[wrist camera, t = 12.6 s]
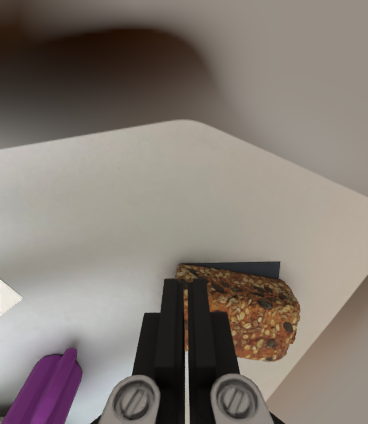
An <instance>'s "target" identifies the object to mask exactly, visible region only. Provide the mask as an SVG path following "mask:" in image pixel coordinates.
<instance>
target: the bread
mask: <svg viewBox="0 0 368 424" xmlns="http://www.w3.org/2000/svg"><path fill="white" fill-rule="evenodd" d="M193 278H206V283H207V292H208V300H209V308H210V312H225V311H227V314H228V318H229V323H230V328H231V332H232V337H233V342H234V347H235V352H236V357H240V358H246V359H252V360H262V361H267V362H270V361H278V360H280V359H281V358H283V357H284V356H285V355H286V354H287V352H286V351H287V349H288V347H289V344H293V342H294V340H295V336H296V330H297V329H296V327H297V323H298V321H299V320H300V316H299V313H300V305H299V303H298V301H297V299H296V298H295V297H294V295H293V293H292V290H291V289H290V288H289V286H288V285H286V284H285V282H284V281H282V280H280V279H275V278H273V279H272V278H267V277H262V276H254V275H252V274H248V273H245V274H243V273H238V272H232V271H226V270H223V269H220V270H216V269H214V268H209V267H203V266H195V265H189V266H188V265H184V264H181V265H178V267H177V271H176V275H175V279H178V282H183V290H184V322H185V351H186V352H187V351H188V289H187V282H193Z"/></svg>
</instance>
